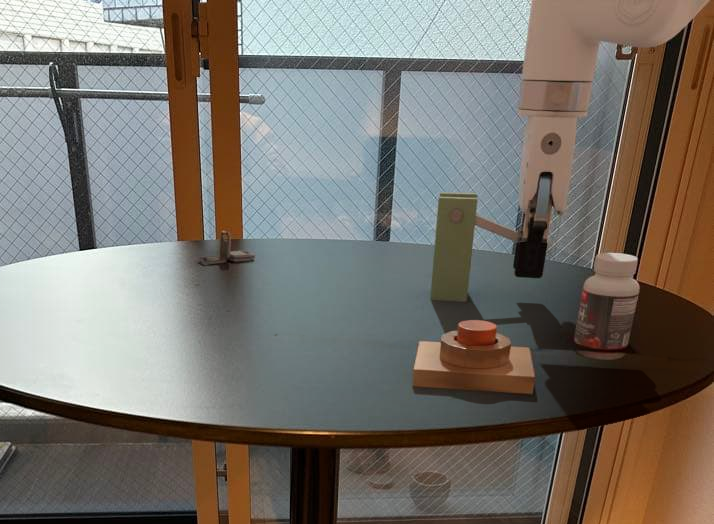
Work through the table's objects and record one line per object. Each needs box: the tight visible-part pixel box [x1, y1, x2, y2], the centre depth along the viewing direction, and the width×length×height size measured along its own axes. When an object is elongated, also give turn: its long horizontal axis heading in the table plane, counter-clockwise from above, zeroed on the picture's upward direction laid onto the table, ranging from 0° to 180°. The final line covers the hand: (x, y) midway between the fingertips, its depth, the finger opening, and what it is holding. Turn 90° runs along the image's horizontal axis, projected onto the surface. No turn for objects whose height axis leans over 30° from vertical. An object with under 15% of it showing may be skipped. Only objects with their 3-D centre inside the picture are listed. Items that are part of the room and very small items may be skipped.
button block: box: [411, 329, 536, 395], centre depth 77 cm, size 11×9×4 cm
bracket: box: [429, 191, 479, 303], centre depth 97 cm, size 12×9×13 cm
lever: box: [450, 196, 550, 249], centre depth 95 cm, size 13×3×3 cm, turn 80°
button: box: [456, 319, 498, 346], centre depth 76 cm, size 4×4×2 cm
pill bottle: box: [573, 252, 641, 361], centre depth 82 cm, size 5×5×10 cm
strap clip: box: [197, 230, 256, 265], centre depth 121 cm, size 8×3×4 cm, turn 118°
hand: (527, 271), depth 97 cm, fingers closed on lever, 3 cm apart
